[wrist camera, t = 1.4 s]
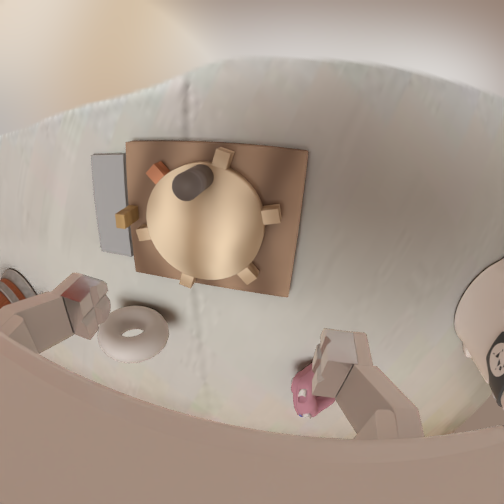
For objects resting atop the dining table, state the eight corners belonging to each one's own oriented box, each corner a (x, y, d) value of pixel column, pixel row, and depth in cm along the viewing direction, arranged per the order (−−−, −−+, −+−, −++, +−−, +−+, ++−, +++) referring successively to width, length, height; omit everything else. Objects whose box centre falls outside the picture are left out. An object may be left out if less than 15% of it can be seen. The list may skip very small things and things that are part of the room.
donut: (178, 307, 39) (147, 359, 30) (181, 326, 40) (152, 378, 31) (117, 294, 40) (80, 337, 31) (122, 312, 41) (88, 356, 33)
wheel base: (308, 150, 27) (308, 156, 23) (288, 290, 34) (285, 313, 30) (132, 140, 29) (109, 146, 25) (141, 265, 37) (124, 283, 33)
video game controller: (306, 349, 40) (280, 384, 35) (335, 356, 37) (311, 394, 33) (313, 389, 44) (291, 421, 39) (338, 397, 41) (317, 431, 36)
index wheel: (288, 153, 26) (284, 162, 21) (272, 293, 33) (265, 325, 28) (138, 144, 28) (107, 153, 23) (147, 272, 35) (125, 297, 30)
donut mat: (125, 153, 30) (123, 154, 29) (133, 254, 36) (131, 256, 35) (93, 154, 31) (90, 155, 30) (104, 249, 37) (101, 251, 36)
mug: (-3, 267, 46) (-47, 303, 32) (40, 268, 42) (-16, 315, 28) (21, 319, 52) (-16, 358, 38) (69, 331, 48) (26, 382, 34)
